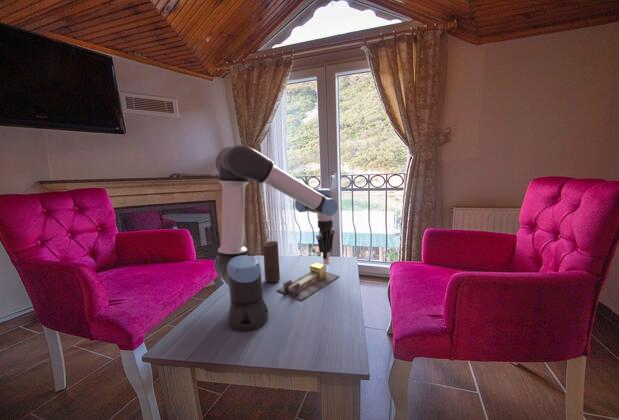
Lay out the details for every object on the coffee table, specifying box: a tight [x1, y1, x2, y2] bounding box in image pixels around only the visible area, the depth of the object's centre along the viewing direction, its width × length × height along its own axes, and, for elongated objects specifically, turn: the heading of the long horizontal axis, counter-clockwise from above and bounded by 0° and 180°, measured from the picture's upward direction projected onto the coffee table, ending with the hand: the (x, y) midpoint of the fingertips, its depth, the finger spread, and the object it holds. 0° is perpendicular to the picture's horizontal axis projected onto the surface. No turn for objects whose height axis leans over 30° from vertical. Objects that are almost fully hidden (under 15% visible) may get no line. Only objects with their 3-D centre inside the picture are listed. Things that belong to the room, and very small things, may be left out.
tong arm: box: [287, 272, 318, 291], centre depth 125 cm, size 21×3×2 cm, turn 140°
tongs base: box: [276, 271, 340, 302], centre depth 127 cm, size 29×15×5 cm, turn 140°
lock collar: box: [309, 262, 327, 281], centre depth 132 cm, size 5×6×6 cm
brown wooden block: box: [262, 240, 281, 283], centre depth 130 cm, size 8×7×20 cm
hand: (326, 264), depth 137 cm, fingers closed
